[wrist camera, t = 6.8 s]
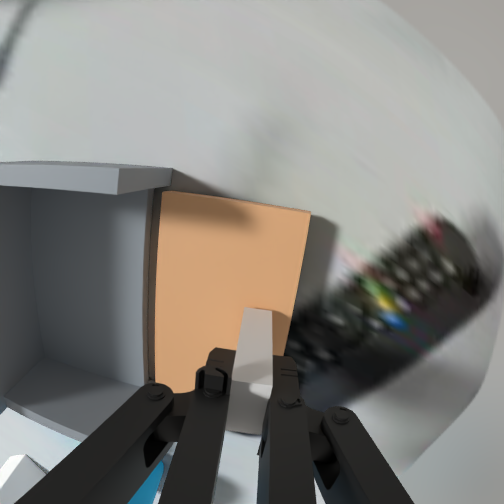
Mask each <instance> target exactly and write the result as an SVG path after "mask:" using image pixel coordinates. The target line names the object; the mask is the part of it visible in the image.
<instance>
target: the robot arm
mask: <svg viewBox="0 0 504 504" xmlns="http://www.w3.org/2000/svg"><path fill="white" fill-rule="evenodd" d="M225 430H228V431H235V432H242V433H250V434H258V435H261V433H262V438H261V442H260V446H259V450H258V453H257V455H259V471H258V488H257V504H316V494H315V484H314V478H315V480H316V483H317V485H318V487H319V490H320V492H321V494H322V497H323V499H324V501H325V503H326V504H414V503H413V501H412V500H411V498H410V496H409V495H408V493H407V492H406V490H405V489H404V487H403V486H402V484H401V483H400V481H399V480H398V478H397V477H396V475H395V474H394V472H393V470H392V469H391V467H390V466H389V464H388V463H387V461H386V460H385V458H384V457H383V455H382V454H381V452H380V451H379V449H378V448H377V446H376V445H375V443H374V441H373V440H372V438H371V437H370V435H369V434H368V432H367V431H366V429H365V428H364V426H363V425H362V423H361V422H360V420H359V419H358V417H357V416H356V414H355V413H354V412H353V411H351V410H349V409H348V408H345V407H341V406H334V407H331V408H328V409H327V410H326V411H325V413H323V412H320V411H316V410H314V409H311V408H309V407H308V406H306V405H305V402H304V400H303V399H302V398H301V397H300V391H299V382H298V374H297V366H296V363H295V361H294V360H293V359H292V357H287V356H279V355H272V311H269V310H262V309H255V308H248V307H244V312H243V317H242V323H241V328H240V334H239V339H238V345H237V350H230V349H224V348H218V347H215V348H214V349H213V350H212V351H210V352H209V355H208V358H207V361H206V365H205V366H203V367H201V368H199V369H198V370H197V371H196V377H195V389H194V390H192V391H190V392H186V393H173V391H172V389H171V388H170V387H168V386H167V385H165V384H161V383H148V384H145V385H143V386H142V387H140V388H139V389H138V390H137V391H136V392H135V393H134V394H133V395H132V396H131V397H130V398H129V399H128V400H127V401H126V402H125V403H124V404H122V405H121V406H120V407H119V408H118V409H117V410H116V411H115V412H114V413H113V414H112V415H111V416H110V417H109V418H108V419H106V420H105V421H104V422H103V423H102V424H101V425H100V426H99V427H98V428H97V429H96V430H95V431H94V432H92V433H91V434H90V435H89V436H88V437H87V438H86V439H85V440H84V441H83V442H82V443H81V444H79V445H78V446H77V447H76V448H75V449H74V450H73V451H72V452H71V453H70V454H69V455H67V456H66V457H65V458H64V459H63V460H62V461H61V462H60V463H59V464H58V465H56V466H55V467H54V468H53V469H52V470H51V471H50V472H49V473H48V474H47V475H45V476H44V477H43V478H42V479H41V480H40V481H39V482H38V483H36V484H35V485H34V486H33V487H32V488H31V489H30V490H29V491H28V492H26V493H25V494H24V495H23V496H22V497H21V498H20V499H18V500H17V501H16V502H15V503H14V504H127V503H128V502H129V501H130V500H131V498H132V497H133V496H134V495H135V493H136V492H137V491H138V489H139V488H140V487H141V486H142V484H143V483H144V482H145V481H146V479H147V478H148V477H149V475H150V474H151V473H152V471H153V470H154V469H155V468H156V466H157V465H158V464H159V462H160V461H161V460H162V458H163V457H164V456H165V454H166V453H167V452H168V450H169V449H170V448H171V446H172V445H173V443H174V442H178V443H177V446H176V449H175V452H174V455H173V458H172V461H171V464H170V468H169V471H168V474H167V477H166V480H165V483H164V487H163V490H162V493H161V496H160V499H159V503H158V504H213V499H214V493H215V487H216V481H217V475H218V469H219V464H220V458H221V452H222V446H223V440H224V433H225Z"/></svg>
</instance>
